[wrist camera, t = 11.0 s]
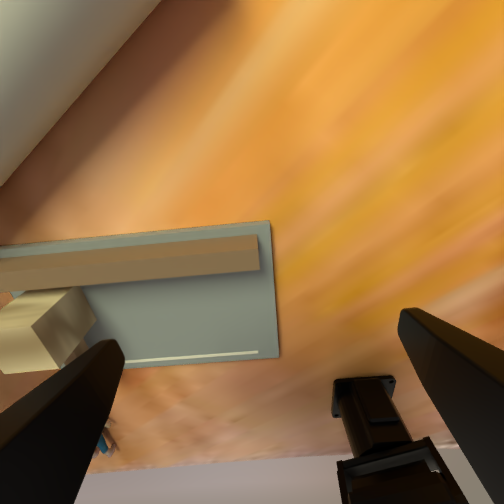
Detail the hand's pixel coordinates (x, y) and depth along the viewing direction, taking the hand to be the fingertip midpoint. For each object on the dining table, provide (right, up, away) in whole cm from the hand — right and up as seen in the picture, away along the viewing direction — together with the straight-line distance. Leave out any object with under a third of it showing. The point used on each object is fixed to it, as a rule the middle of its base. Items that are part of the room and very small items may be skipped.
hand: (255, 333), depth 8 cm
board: (-9, -2, +14) cm, 17 cm away
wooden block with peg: (-16, -5, +15) cm, 22 cm away
